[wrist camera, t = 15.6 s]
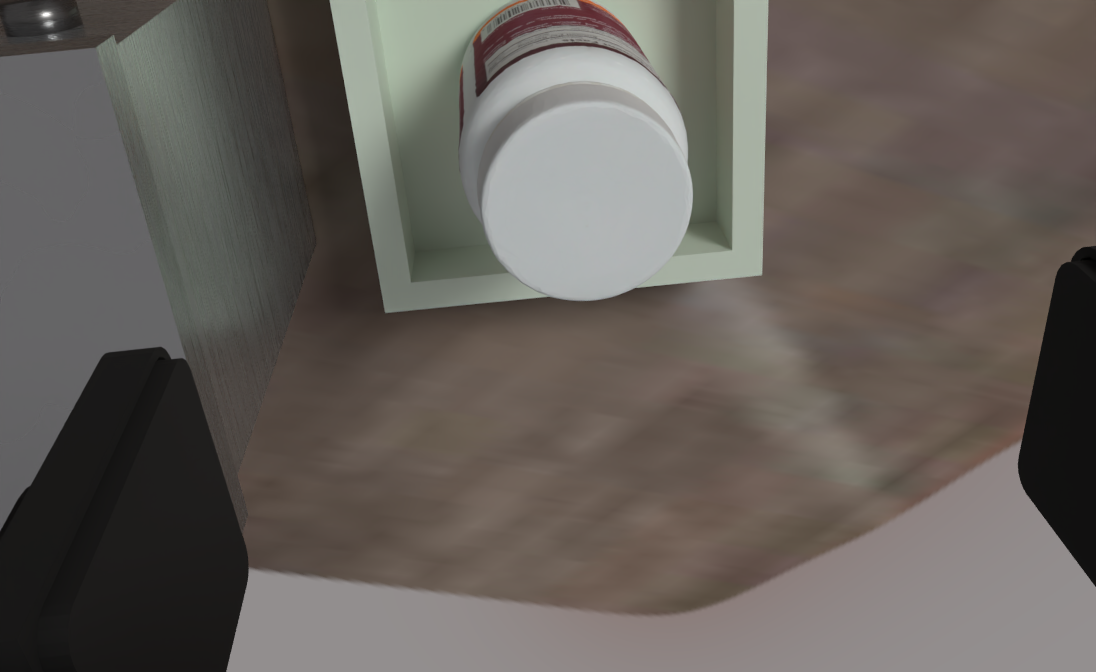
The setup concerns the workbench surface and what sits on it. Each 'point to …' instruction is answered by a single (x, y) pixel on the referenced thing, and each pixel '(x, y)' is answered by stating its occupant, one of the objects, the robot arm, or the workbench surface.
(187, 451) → the robot arm
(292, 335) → the workbench surface
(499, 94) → the pill bottle
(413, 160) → the tray
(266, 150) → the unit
